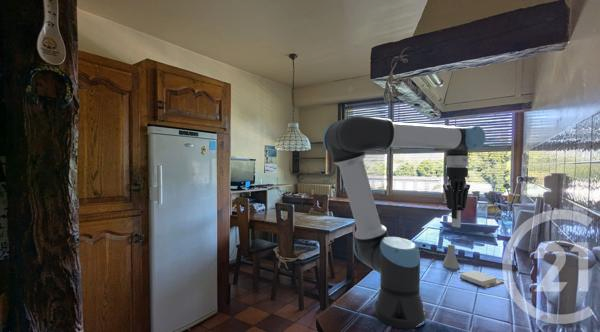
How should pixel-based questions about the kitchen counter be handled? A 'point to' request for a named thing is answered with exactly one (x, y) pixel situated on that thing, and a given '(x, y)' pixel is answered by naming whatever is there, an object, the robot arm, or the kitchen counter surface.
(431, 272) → the kitchen counter surface
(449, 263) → the flask
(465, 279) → the board
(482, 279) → the tile
